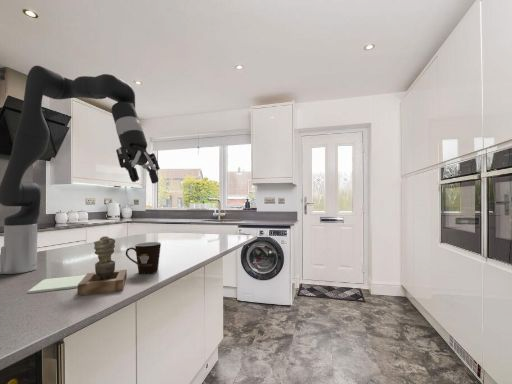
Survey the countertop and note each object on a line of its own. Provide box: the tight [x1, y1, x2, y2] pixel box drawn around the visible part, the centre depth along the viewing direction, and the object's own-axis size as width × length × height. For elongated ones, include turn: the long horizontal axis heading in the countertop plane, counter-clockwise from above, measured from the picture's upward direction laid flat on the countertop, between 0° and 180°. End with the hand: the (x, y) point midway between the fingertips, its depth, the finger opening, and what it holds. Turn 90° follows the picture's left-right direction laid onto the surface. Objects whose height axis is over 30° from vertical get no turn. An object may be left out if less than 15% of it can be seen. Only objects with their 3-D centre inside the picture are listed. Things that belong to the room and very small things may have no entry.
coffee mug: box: [125, 241, 162, 275], centre depth 94 cm, size 12×9×10 cm
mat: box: [27, 274, 87, 294], centre depth 80 cm, size 12×12×1 cm
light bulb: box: [93, 235, 116, 280], centre depth 78 cm, size 6×6×15 cm
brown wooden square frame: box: [77, 269, 128, 297], centre depth 78 cm, size 11×12×3 cm
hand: (146, 181), depth 80 cm, fingers open, 8 cm apart
